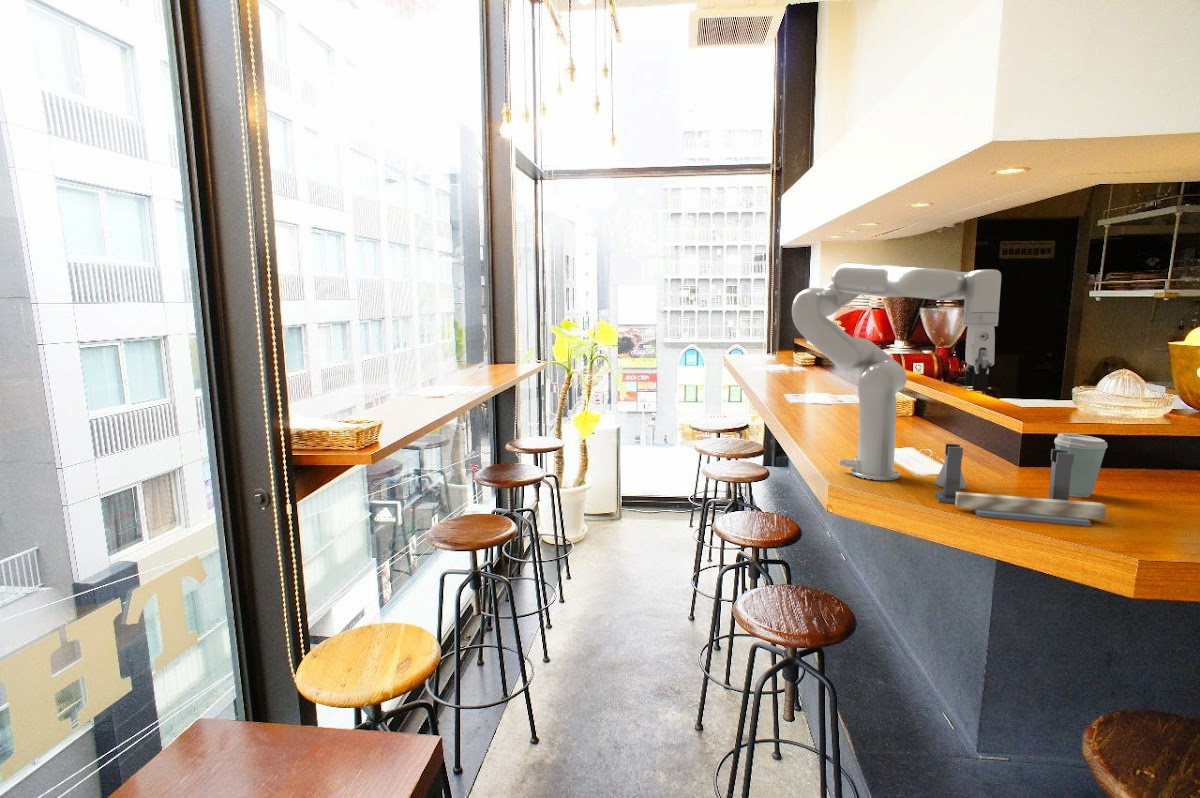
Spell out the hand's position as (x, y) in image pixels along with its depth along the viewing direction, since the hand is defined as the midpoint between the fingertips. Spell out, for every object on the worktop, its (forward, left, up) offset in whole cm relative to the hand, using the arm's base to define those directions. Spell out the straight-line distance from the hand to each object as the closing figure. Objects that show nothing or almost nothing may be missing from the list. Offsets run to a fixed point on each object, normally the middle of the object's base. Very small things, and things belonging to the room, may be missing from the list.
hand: (975, 388), depth 161 cm
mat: (+8, -20, -26) cm, 34 cm away
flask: (-4, +2, -27) cm, 27 cm away
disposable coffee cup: (+24, +3, -26) cm, 36 cm away
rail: (+8, -20, -25) cm, 33 cm away
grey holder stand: (+5, -12, -26) cm, 29 cm away
